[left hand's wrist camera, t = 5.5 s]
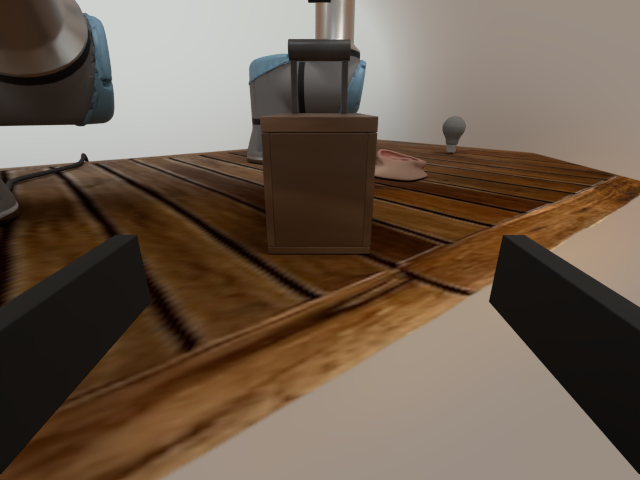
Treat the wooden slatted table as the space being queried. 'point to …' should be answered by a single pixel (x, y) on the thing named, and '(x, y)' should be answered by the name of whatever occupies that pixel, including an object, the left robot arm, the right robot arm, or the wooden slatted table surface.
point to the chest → (319, 191)
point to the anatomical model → (399, 166)
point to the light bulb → (453, 132)
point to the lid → (319, 121)
